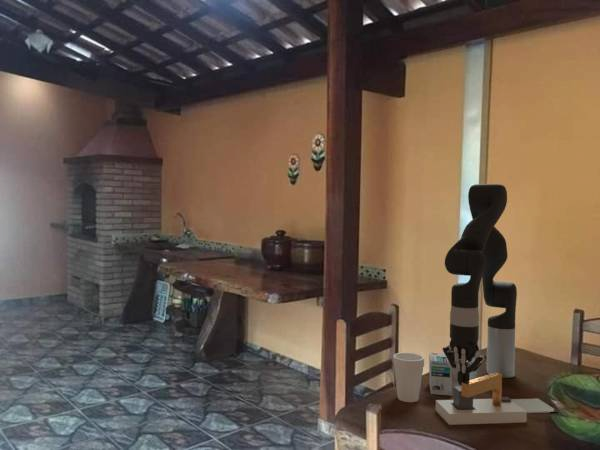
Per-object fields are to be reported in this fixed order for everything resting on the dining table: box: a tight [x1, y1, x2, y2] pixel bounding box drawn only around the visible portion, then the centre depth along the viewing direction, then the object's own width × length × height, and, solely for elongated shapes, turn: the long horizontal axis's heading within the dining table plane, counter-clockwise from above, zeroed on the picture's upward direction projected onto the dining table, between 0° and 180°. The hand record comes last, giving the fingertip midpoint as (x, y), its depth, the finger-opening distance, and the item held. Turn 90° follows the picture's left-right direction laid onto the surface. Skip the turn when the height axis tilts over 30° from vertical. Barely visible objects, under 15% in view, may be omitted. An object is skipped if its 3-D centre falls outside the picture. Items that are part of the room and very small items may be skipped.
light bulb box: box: [428, 352, 453, 397], centre depth 162 cm, size 11×7×11 cm, turn 168°
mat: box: [510, 398, 555, 414], centre depth 148 cm, size 10×10×1 cm
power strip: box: [435, 396, 528, 426], centre depth 140 cm, size 10×22×4 cm, turn 96°
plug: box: [452, 385, 474, 410], centre depth 140 cm, size 4×4×8 cm
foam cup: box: [392, 352, 425, 403], centre depth 153 cm, size 10×9×13 cm
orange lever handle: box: [461, 372, 503, 406], centre depth 136 cm, size 2×16×9 cm, turn 126°
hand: (463, 385), depth 136 cm, fingers closed
